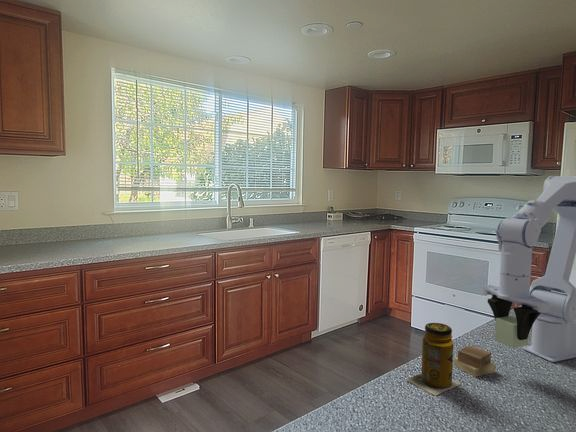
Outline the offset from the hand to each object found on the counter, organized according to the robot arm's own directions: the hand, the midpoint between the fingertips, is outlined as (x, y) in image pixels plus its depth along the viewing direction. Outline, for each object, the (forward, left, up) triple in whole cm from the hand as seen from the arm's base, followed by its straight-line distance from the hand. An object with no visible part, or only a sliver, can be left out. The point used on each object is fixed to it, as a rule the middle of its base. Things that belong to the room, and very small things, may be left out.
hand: (512, 334), depth 85 cm
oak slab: (+6, -4, -9) cm, 12 cm away
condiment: (+19, -2, -9) cm, 21 cm away
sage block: (0, 0, -2) cm, 2 cm away
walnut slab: (+6, -4, -7) cm, 10 cm away
